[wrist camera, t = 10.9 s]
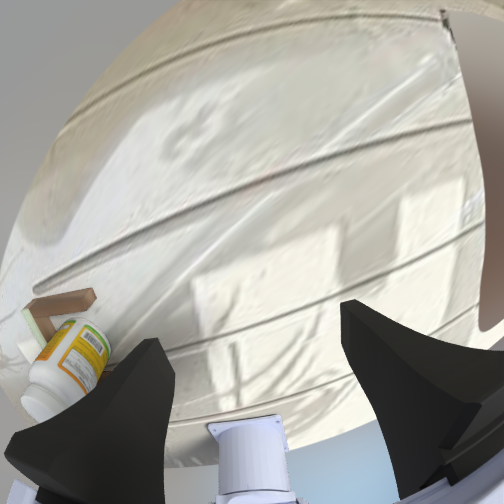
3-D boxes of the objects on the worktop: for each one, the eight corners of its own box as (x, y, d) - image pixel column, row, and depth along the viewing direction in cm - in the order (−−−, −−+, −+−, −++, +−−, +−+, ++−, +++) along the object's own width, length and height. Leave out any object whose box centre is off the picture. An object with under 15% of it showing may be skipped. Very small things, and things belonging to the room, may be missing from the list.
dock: (138, 377, 22) (132, 394, 20) (78, 378, 22) (71, 392, 20) (92, 287, 19) (79, 301, 17) (33, 299, 19) (20, 311, 17)
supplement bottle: (67, 351, 21) (25, 419, 12) (61, 308, 20) (3, 377, 10) (113, 368, 22) (79, 447, 13) (111, 326, 20) (64, 410, 11)
